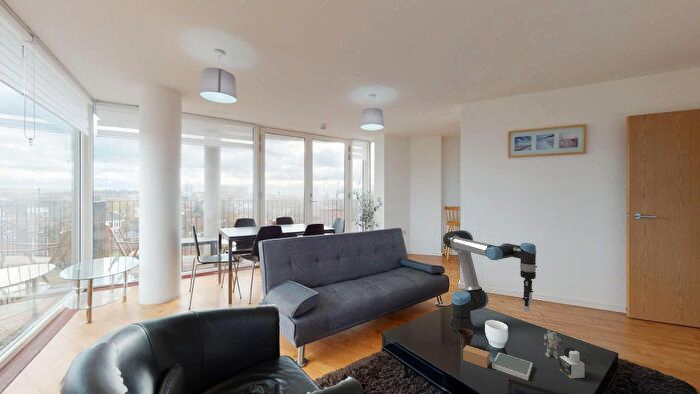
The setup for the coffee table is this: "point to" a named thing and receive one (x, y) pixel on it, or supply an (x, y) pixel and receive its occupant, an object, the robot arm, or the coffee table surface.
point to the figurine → (552, 343)
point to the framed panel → (512, 366)
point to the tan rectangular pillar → (476, 356)
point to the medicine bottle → (571, 364)
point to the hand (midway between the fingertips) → (527, 307)
